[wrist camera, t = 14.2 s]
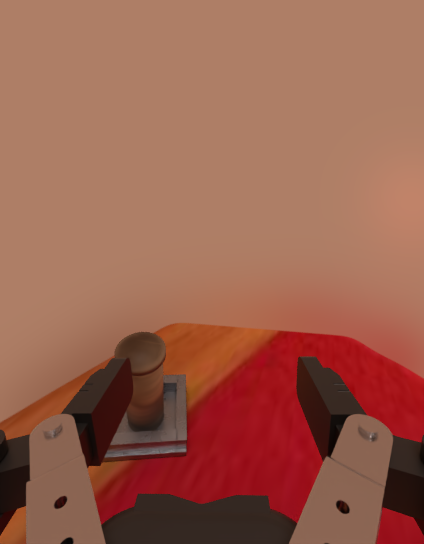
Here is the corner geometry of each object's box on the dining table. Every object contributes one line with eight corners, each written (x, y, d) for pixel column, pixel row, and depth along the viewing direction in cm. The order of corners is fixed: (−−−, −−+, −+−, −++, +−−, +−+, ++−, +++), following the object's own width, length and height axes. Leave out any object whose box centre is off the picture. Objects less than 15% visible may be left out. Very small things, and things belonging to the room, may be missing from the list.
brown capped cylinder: (167, 396, 35) (166, 331, 29) (165, 435, 31) (164, 370, 25) (128, 397, 35) (119, 332, 28) (121, 438, 30) (109, 371, 24)
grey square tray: (184, 385, 38) (185, 372, 36) (185, 455, 30) (187, 442, 29) (113, 388, 36) (110, 375, 35) (95, 462, 29) (91, 449, 27)
